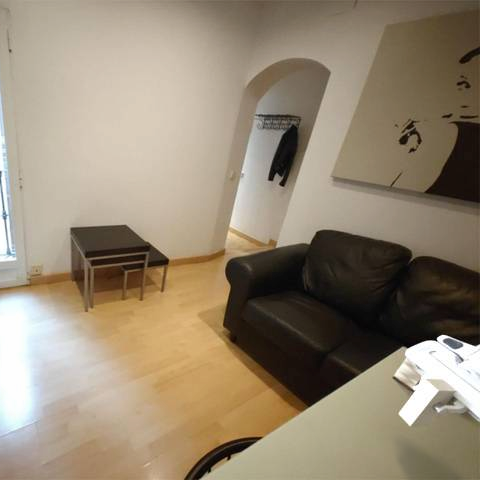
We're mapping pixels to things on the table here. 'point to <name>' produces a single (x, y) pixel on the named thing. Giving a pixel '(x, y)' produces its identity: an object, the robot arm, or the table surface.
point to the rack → (408, 375)
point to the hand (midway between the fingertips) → (425, 401)
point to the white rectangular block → (426, 402)
